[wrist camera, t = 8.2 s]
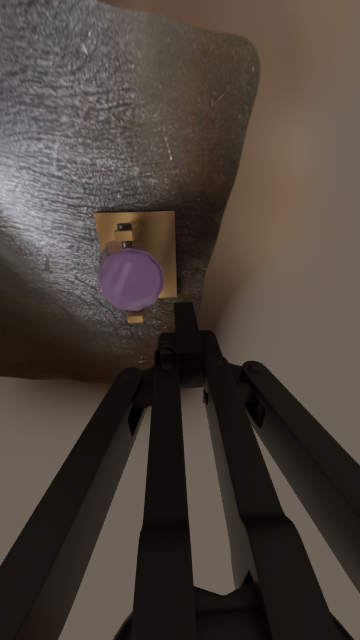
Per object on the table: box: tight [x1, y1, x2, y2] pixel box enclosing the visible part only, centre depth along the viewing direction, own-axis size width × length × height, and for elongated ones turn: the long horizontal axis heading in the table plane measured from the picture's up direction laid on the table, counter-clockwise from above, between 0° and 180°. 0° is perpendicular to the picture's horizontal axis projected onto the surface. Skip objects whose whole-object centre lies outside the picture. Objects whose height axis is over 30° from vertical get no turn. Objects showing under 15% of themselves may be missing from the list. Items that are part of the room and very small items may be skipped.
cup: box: [98, 240, 164, 312], centre depth 29 cm, size 8×9×9 cm
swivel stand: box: [94, 211, 177, 324], centre depth 30 cm, size 12×14×12 cm
